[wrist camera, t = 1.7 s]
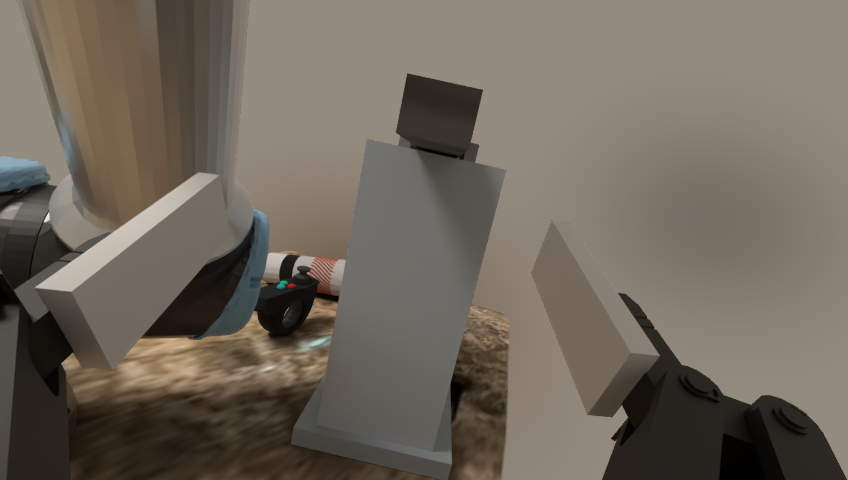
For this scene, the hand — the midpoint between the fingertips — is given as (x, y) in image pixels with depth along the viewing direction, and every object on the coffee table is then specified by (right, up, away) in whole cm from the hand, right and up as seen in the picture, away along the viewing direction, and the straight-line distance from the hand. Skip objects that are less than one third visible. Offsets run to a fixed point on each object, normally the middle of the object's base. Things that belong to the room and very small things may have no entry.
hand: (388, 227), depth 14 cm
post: (-3, -20, +31) cm, 38 cm away
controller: (-21, -15, +40) cm, 47 cm away
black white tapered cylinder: (-19, -12, +57) cm, 61 cm away
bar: (+3, +7, +17) cm, 19 cm away
